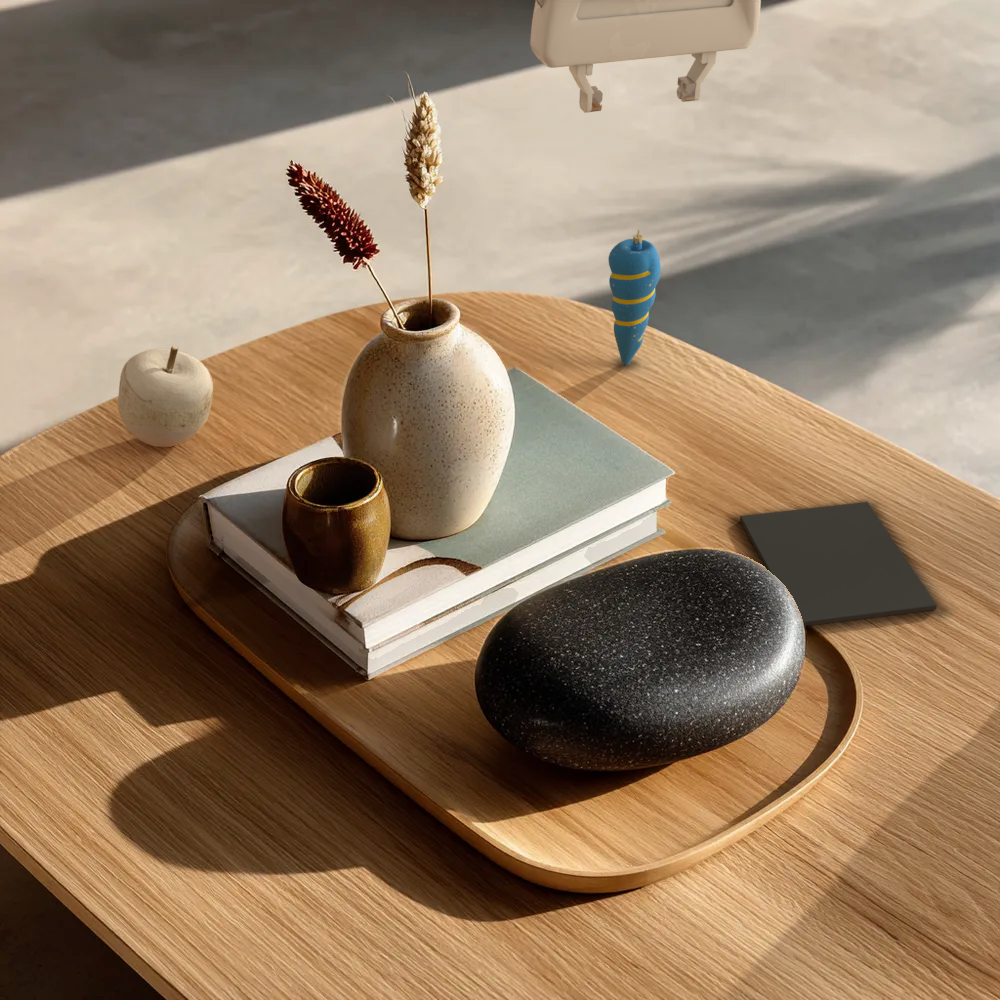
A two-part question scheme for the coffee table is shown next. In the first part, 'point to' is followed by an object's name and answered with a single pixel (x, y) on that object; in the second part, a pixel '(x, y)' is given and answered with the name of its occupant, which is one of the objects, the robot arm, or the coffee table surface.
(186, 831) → the coffee table surface
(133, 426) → the decorative object
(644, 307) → the ornament
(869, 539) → the mat
